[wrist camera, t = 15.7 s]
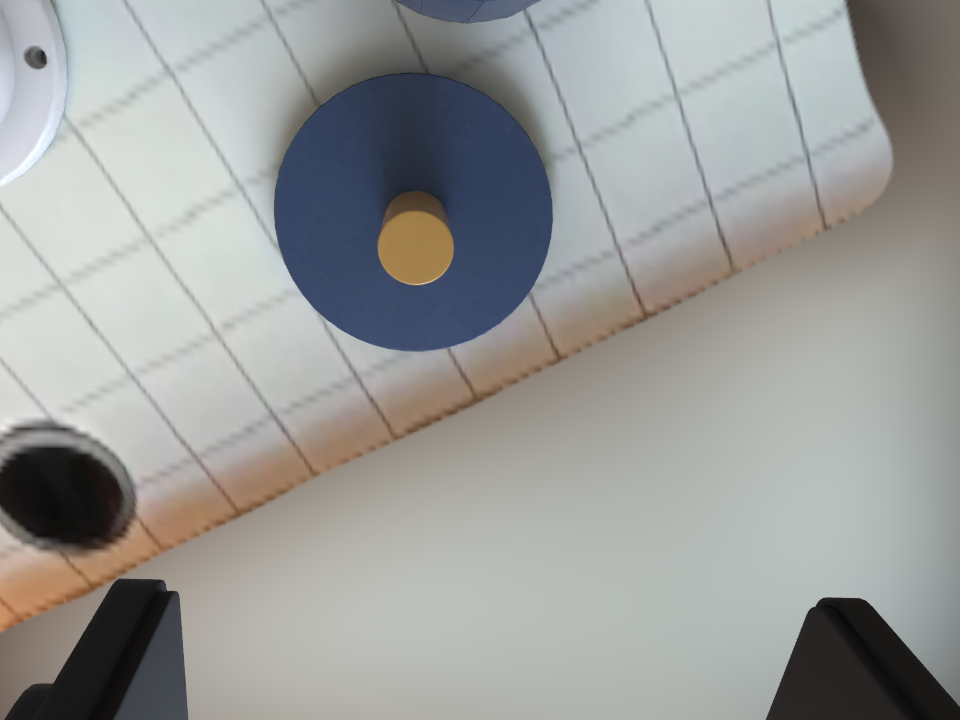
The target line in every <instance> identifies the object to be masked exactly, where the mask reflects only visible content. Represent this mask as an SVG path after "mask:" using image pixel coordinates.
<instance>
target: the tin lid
mask: <svg viewBox="0 0 960 720" xmlns="http://www.w3.org/2000/svg"><path fill="white" fill-rule="evenodd" d="M274 218H275V229H276V234H277V239H278V244H279V248H280V251H281V254H282V257H283V260H284V263H285V265H286V267H287V269H288V271H289V273H290V275H291V277H292V279H293V281H294V282H295V284H296V285H297V287H298V288H299V290H300V291H301V293H302V294H303V296H304V297H305V298H306V299H307V300H308V301H309V303H310V304H311V305H312V306H313V307H314V308H315V309H316V310H317V311H318V312H319V313H320V314H321V315H322V316H323V317H324V318H326V319H327V320H328V321H329V322H331V323H332V324H334V325H335V326H336V327H338V328H339V329H341V330H342V331H344V332H346V333H348V334H350V335H351V336H353V337H355V338H357V339H360V340H362V341H365V342H367V343H370V344H372V345H376V346H380V347H383V348H387V349H393V350H400V351H421V352H422V351H432V350H440V349H445V348H449V347H453V346H457V345H460V344H462V343H465V342H468V341H471V340H473V339H475V338H477V337H479V336H481V335H483V334H485V333H486V332H488V331H489V330H491V329H492V328H494V327H495V326H497V325H498V324H500V323H501V322H502V321H503V320H504V319H505V318H507V317H508V316H509V315H510V314H511V313H512V312H513V311H514V310H515V309H516V308H517V307H518V306H519V304H520V303H521V302H522V301H523V300H524V299H525V297H526V296H527V294H528V293H529V291H530V290H531V288H532V287H533V285H534V283H535V281H536V280H537V278H538V276H539V274H540V272H541V270H542V267H543V264H544V261H545V259H546V256H547V252H548V248H549V244H550V239H551V232H552V221H553V215H552V198H551V192H550V186H549V182H548V178H547V175H546V172H545V168H544V165H543V163H542V161H541V159H540V156H539V154H538V152H537V150H536V148H535V146H534V145H533V143H532V141H531V140H530V138H529V137H528V135H527V133H526V132H525V131H524V130H523V128H522V127H521V126H520V125H519V123H518V122H517V121H516V120H515V119H514V117H512V116H511V115H510V114H509V113H508V112H507V111H506V110H505V109H504V108H503V107H502V106H501V105H499V104H498V103H497V102H495V101H494V100H492V99H491V98H490V97H488V96H487V95H485V94H484V93H482V92H480V91H478V90H476V89H474V88H472V87H470V86H469V85H467V84H464V83H461V82H458V81H455V80H453V79H450V78H446V77H441V76H436V75H431V74H421V73H400V74H389V75H384V76H380V77H375V78H371V79H368V80H366V81H363V82H360V83H358V84H355V85H352V86H351V87H349V88H347V89H345V90H343V91H342V92H340V93H338V94H336V95H335V96H333V97H332V98H331V99H329V100H328V101H327V102H325V103H324V104H323V105H322V106H320V107H319V108H318V109H317V110H316V111H315V112H314V113H313V114H312V115H311V116H310V117H309V118H308V119H307V120H306V122H305V123H304V124H303V126H302V127H301V128H300V130H299V131H298V133H297V134H296V135H295V137H294V139H293V141H292V142H291V144H290V146H289V148H288V150H287V152H286V154H285V157H284V159H283V162H282V165H281V168H280V171H279V175H278V179H277V184H276V189H275V201H274Z"/></svg>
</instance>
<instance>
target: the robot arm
mask: <svg viewBox="0 0 960 720" xmlns="http://www.w3.org/2000/svg"><path fill="white" fill-rule="evenodd" d="M43 51H44V52H45V54H46V57H47V62H46V64H45V63H44V62H43V61H42V59H41V53H42V52H43ZM67 86H68V77H67V59H66V50H65V46H64V42H63V37H62V33H61V29H60V25H59V21H58V18H57V16H56V13H55V11H54V9H53V6H52V4H51V1H50V0H0V187H1V186H3V185H5V184H7V183H8V182H10V181H12V180H14V179H16V178H18V177H19V176H21V175H22V174H23V173H25V172H26V171H27V170H28V169H29V168H30V167H31V166H32V165H33V164H34V163H35V162H37V161H38V160H39V159H40V158H41V156H42V155H43V153H44V152H45V150H46V149H47V147H48V146H49V144H50V143H51V141H52V140H53V138H54V137H55V134H56V131H57V129H58V126H59V123H60V121H61V118H62V115H63V113H64V107H65V100H66V93H67ZM5 720H188V709H187V695H186V681H185V668H184V654H183V640H182V626H181V612H180V598H179V594H178V592H176V591H167V589H166V584H165V582H164V581H163V580H154V579H118V580H116V581H115V582H114V584H113V585H112V586H111V588H110V589H109V591H108V593H107V594H106V596H105V598H104V600H103V601H102V603H101V605H100V606H99V608H98V610H97V611H96V613H95V615H94V616H93V618H92V620H91V622H90V623H89V625H88V626H87V628H86V630H85V631H84V633H83V635H82V636H81V638H80V640H79V642H78V643H77V645H76V647H75V648H74V650H73V651H72V653H71V655H70V657H69V658H68V660H67V661H66V663H65V665H64V666H63V668H62V670H61V671H60V673H59V675H58V676H57V678H56V680H55V681H54V683H53V684H41V683H40V684H34V685H32V686H30V687H29V688H28V689H26V690H25V691H24V692H23V693H22V695H21V696H20V697H19V699H18V700H17V701H16V703H15V704H14V706H13V707H12V709H11V710H10V712H9V713H8V715H7V717H6V718H5ZM766 720H960V707H959V706H958V705H957V703H956V702H955V701H954V700H953V699H952V698H951V696H950V695H949V694H948V693H947V692H946V691H945V690H944V688H943V687H942V686H941V685H940V684H939V683H938V682H937V680H936V679H935V678H934V677H933V676H932V675H931V673H930V672H929V671H928V670H927V669H926V668H925V667H924V665H923V664H922V663H921V662H920V661H919V660H918V659H917V657H916V656H915V655H914V654H913V653H912V652H911V650H910V649H909V648H908V647H907V646H906V645H905V644H904V642H903V641H902V640H901V639H900V638H899V637H898V636H897V634H896V633H895V632H894V631H893V630H892V629H891V627H890V626H889V625H888V624H887V623H886V622H885V621H884V619H883V618H882V617H881V616H880V615H879V614H878V613H877V611H876V610H875V609H874V608H873V607H872V606H871V605H870V604H869V603H868V602H867V601H865V600H862V599H860V598H822V599H821V600H820V601H819V602H818V603H817V605H816V606H815V607H813V608H811V609H810V610H809V611H808V614H807V616H806V618H805V621H804V623H803V626H802V628H801V631H800V634H799V636H798V639H797V641H796V644H795V646H794V649H793V652H792V654H791V657H790V659H789V662H788V664H787V667H786V669H785V672H784V675H783V677H782V680H781V682H780V685H779V687H778V690H777V693H776V695H775V698H774V700H773V703H772V706H771V708H770V711H769V713H768V716H767V718H766Z"/></svg>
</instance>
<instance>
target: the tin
mask: <svg viewBox="0 0 960 720" xmlns="http://www.w3.org/2000/svg"><path fill="white" fill-rule="evenodd" d="M395 1H397V2H398V3H400V4H402V5H404V6H406V7H408V8H410V9H411V10H413V11H415V12H417V13H419V14H422V15H424V16H429V17H432V18H436V19H440V20H445V21H449V22H459V23H466V24H468V23H474V22H486V21H491V20H495V19H501V18H508V17H509V16H513V15H514V14H516V13H518V12H520V11H522V10H524V9H526V8H527V7H529V6H531V5H533V4H535V3H537V2H539V1H540V0H395Z"/></svg>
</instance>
